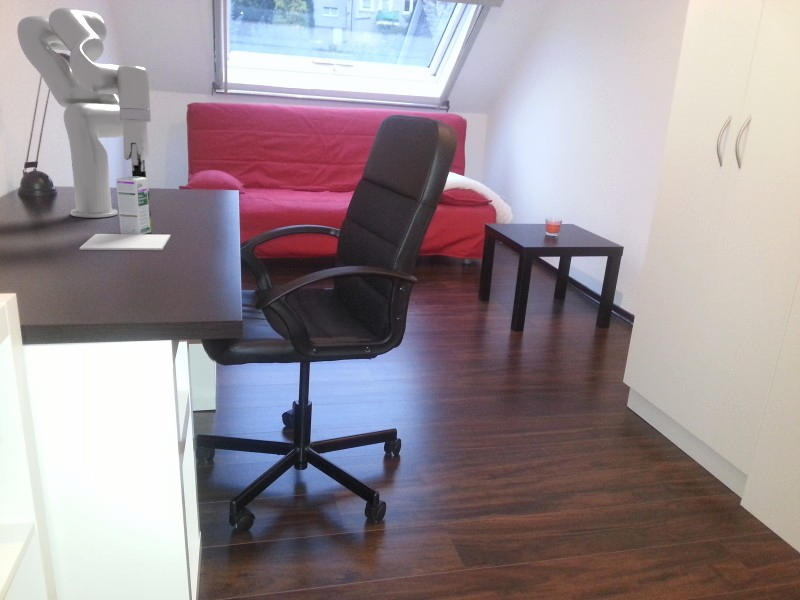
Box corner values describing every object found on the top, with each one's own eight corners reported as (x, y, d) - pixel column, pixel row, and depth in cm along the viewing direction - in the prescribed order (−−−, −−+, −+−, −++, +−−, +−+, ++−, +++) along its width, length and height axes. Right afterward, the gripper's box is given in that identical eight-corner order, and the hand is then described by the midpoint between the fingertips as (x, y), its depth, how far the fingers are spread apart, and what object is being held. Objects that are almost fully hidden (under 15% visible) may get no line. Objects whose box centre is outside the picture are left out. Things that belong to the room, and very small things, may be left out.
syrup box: (140, 236, 166) (136, 179, 162) (119, 234, 167) (115, 177, 163) (152, 232, 171) (149, 177, 167) (132, 230, 173) (128, 175, 168)
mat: (95, 235, 164) (95, 233, 164) (170, 236, 168) (170, 234, 167) (79, 249, 149) (79, 247, 149) (161, 250, 153) (161, 248, 152)
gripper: (125, 114, 176) (130, 182, 181) (114, 115, 162) (119, 189, 167) (154, 115, 177) (158, 183, 183) (145, 117, 163) (150, 190, 169)
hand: (139, 185), depth 175 cm, fingers closed
